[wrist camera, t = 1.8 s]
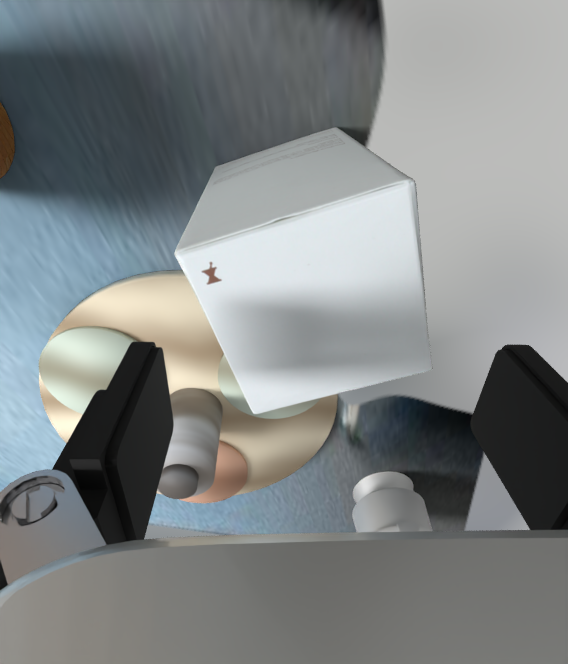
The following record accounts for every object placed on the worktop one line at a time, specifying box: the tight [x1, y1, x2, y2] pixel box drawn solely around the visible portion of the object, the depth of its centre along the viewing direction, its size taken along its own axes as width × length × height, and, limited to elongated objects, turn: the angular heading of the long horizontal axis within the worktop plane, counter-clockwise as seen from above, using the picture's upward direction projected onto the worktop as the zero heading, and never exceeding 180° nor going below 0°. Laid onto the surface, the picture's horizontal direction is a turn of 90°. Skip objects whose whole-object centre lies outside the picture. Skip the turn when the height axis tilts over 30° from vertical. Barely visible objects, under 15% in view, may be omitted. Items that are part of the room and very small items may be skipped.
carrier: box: [39, 270, 338, 503], centre depth 28 cm, size 22×22×8 cm
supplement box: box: [175, 127, 433, 414], centre depth 18 cm, size 7×7×13 cm
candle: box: [352, 471, 432, 532], centre depth 33 cm, size 7×7×15 cm
